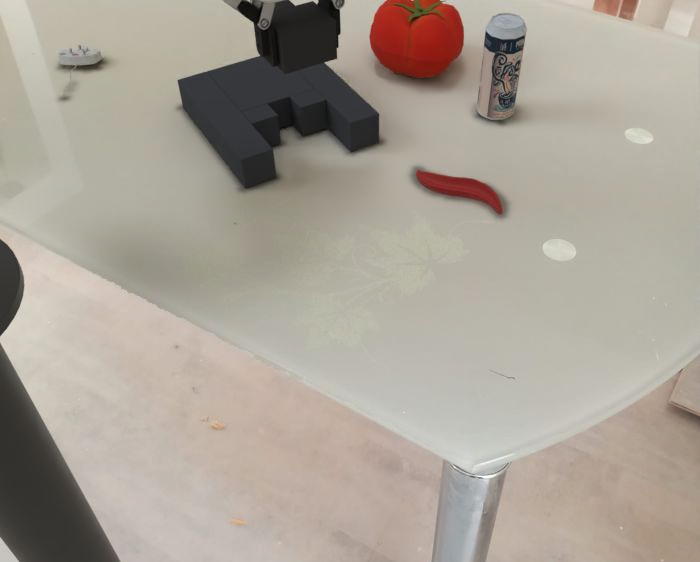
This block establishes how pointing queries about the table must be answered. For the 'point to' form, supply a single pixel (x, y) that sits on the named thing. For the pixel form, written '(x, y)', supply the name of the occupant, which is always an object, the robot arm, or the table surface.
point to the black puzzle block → (303, 35)
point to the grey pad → (272, 112)
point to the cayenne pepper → (460, 188)
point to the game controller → (79, 57)
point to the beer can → (501, 66)
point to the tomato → (416, 36)
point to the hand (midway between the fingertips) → (299, 50)
